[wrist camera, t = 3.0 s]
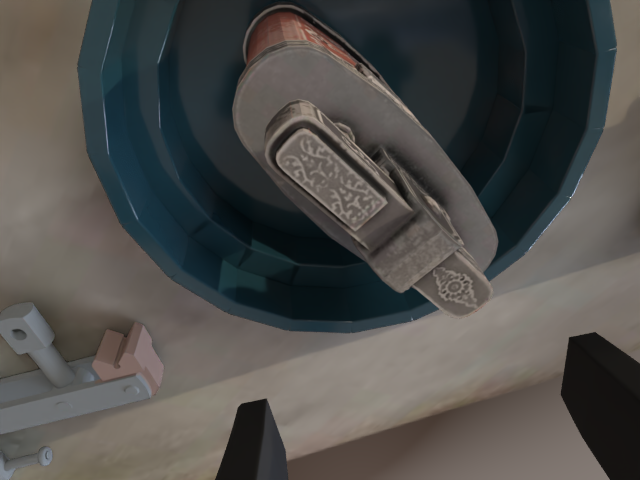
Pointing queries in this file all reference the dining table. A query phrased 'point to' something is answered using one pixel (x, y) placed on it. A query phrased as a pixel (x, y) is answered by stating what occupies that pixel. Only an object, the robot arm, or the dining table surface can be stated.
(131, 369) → the clamp
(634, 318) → the dining table surface
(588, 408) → the robot arm
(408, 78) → the bowl
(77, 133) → the dining table surface
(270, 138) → the lighter
